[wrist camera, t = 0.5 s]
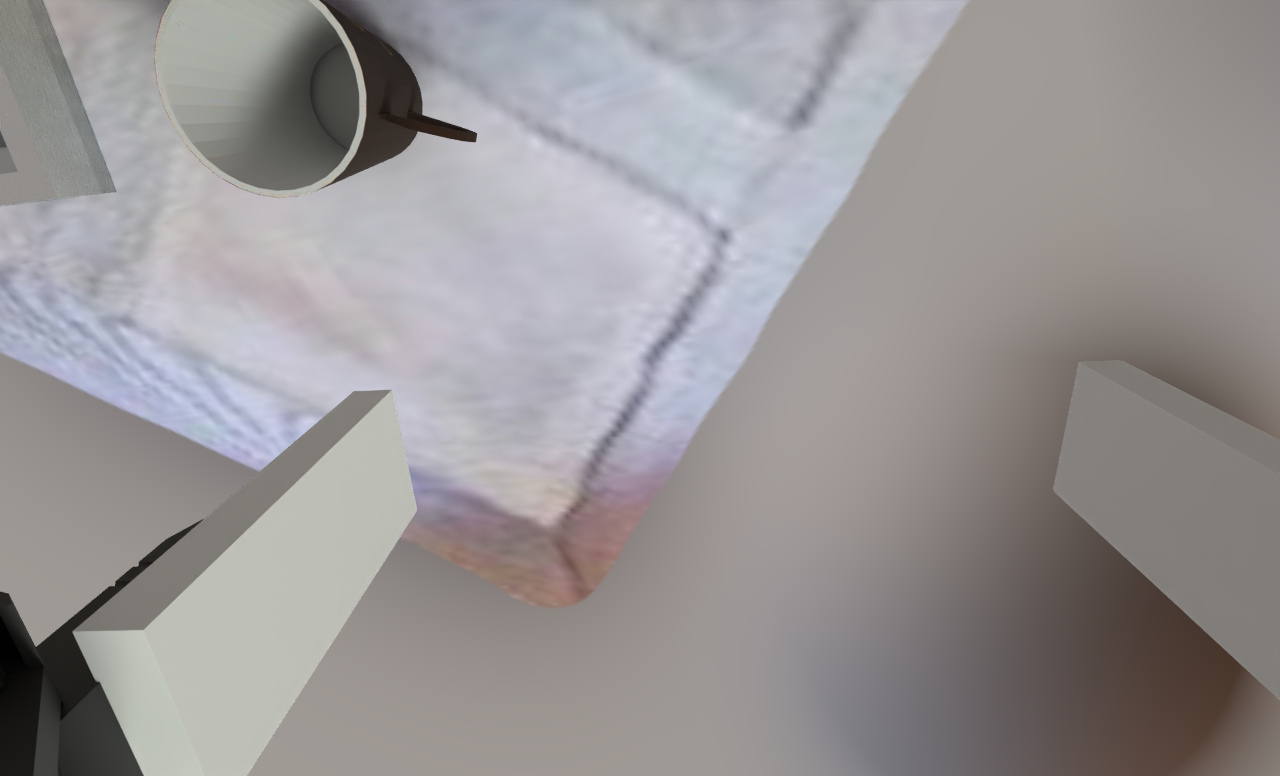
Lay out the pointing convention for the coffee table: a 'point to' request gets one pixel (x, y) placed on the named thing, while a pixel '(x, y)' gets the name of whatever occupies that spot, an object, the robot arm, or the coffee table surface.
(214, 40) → the coffee mug
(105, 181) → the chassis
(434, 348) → the coffee table surface
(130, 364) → the coffee table surface
